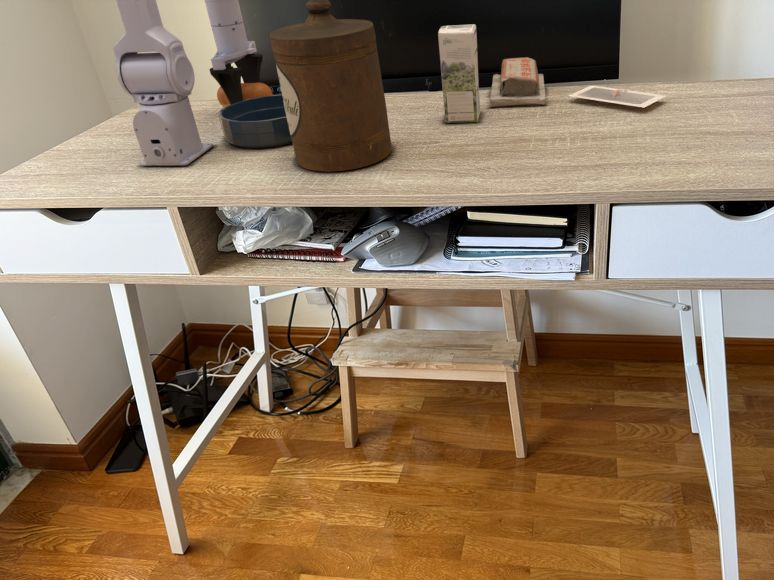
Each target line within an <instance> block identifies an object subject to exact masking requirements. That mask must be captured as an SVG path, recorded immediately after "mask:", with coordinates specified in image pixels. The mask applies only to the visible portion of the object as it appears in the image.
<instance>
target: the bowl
mask: <svg viewBox="0 0 774 580" xmlns="http://www.w3.org/2000/svg"><path fill="white" fill-rule="evenodd" d="M217 116H218V119H219V122H220V126H221V130H222V134H223V137H224V139H225V140H226V142H227V143H230V144H231V145H233V146H236V147H239V148H245V149H267V148H276V147H281V146H282V147H283V146H286V145H291V144H293V143H292V139H291V135H290V130H289V126H288V122H287V117H286V112H285V108H284V103H283V97H282V93H281V94H280V93H279V94H273V95H269V96H262V97H256V98H251V99H247V100H243V101H240V102H236V103H234V104H231V105H229V106H227V107H225V108H224V109H223V108H222V109H221V110H220V111H219V113H218V114H217Z"/></svg>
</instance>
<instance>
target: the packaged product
mask: <svg viewBox="0 0 774 580" xmlns="http://www.w3.org/2000/svg"><path fill="white" fill-rule="evenodd" d="M537 66H538V65H537V61H536V60H535V59H534V58H530V57H528V56H526V57H513V58H512V57H511V58H504V59H502V62H501V67H500V70H501V71H500V74H498V73H495V74H493V75H492V84H491V90H490V96H489V97H490V98H489V102H490V107H491V108H494V107H495V108H497V107H505V106H528V105H529V106H531V105H532V106H533V105H543V106H544V105H546V99H547V97H546V89H545V79H544V74H543V73H539V72H538V67H537Z"/></svg>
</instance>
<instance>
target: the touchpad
mask: <svg viewBox="0 0 774 580" xmlns="http://www.w3.org/2000/svg"><path fill="white" fill-rule="evenodd" d="M568 97H572V98H579V99H584V100H592V101H598V102H605V103H611V104H616V105H617V104H618V105H624V106H630V107H636V108H644V109H645V108H647V107H649V106H651V105H652V104H654V103H657V102H658V101H660V100H662V99H664V98H666V97H667V95H664V94H657V93H650V92H643V91H636V90H635V91H634V90H628V89H621V88H614V87H606V86H600V85H593V84H592V85H589V86H587V87H585V88H582V89H581V90H578V91H576V92H573V93H571V94H569V95H568Z"/></svg>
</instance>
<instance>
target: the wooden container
mask: <svg viewBox="0 0 774 580" xmlns="http://www.w3.org/2000/svg"><path fill="white" fill-rule="evenodd" d="M305 7H306V11H307V12H308V16H307V18H306V19H305V21H304V22H301V23H295V24H289V25H287V26H282V27H279V28H276V29H274V30H272V31H271V32H270V33H269V38H270V44H271V49H272V54H273V57H274V58H273V59H274V62H275V66H276V71H277V77H278V81H279V86H280V92H281V94H282V97H283V103H284V108H285V112H286V117H287V122H288V126H289V130H290V135H291V139H292V143H291V144H292V148H293V152H294V156H295V159H296V163H297V164H298V165H299V166H300V167H301V168H303V169H306V170H310V171H315V172H329V173H330V172H347V171H351V170H357V169H362V168H364V167H365V168H366V167H369V166H371V165H374V164H377V163H379V162H381V161H383V160H384V159H386V158H387V157H388V156H389V155H390V154H391V153H392V150H393V148H392V147H393V145H392V139H391V131H390V125H389V117H388V108H387V102H386V96H385V91H384V84H383V80H382V73H381V67H380V59H379V54H378V48H377V47H378V45H377V37H376V31H375V27H374V23H373V22H372V21H371V20H366V19H359V18H358V19H355V18H340V19H337V18H335V17H334V16H333V15H332V14H331V13H330V10H331V8H332V4H331V2H330V1H329V0H308V1H306V3H305Z"/></svg>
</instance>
